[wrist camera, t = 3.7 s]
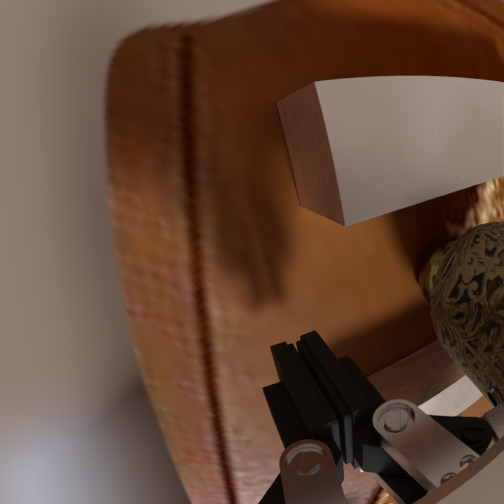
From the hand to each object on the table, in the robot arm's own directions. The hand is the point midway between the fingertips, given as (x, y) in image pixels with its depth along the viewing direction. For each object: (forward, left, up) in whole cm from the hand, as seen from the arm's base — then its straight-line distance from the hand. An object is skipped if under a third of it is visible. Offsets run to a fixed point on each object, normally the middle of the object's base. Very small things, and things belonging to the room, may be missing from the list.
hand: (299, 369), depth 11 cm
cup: (-9, 0, -3) cm, 9 cm away
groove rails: (-10, 0, -3) cm, 10 cm away
